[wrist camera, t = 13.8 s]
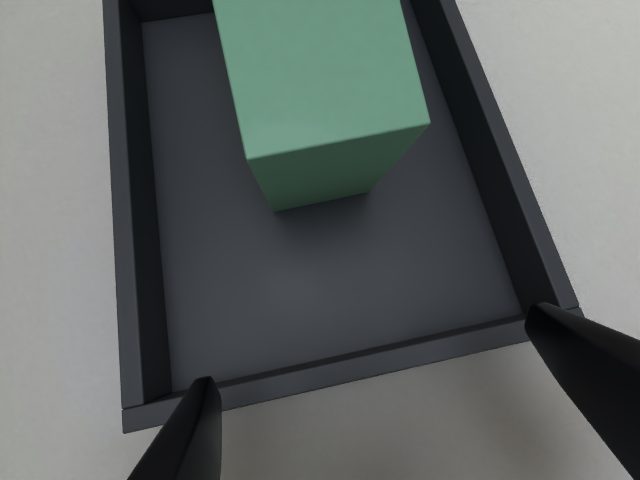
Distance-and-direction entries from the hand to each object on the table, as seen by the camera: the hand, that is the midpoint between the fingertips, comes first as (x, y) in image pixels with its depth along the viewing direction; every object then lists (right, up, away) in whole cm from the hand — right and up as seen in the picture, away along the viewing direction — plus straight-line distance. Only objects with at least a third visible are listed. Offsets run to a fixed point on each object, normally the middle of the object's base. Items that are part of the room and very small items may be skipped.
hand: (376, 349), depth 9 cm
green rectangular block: (-1, +5, +3) cm, 6 cm away
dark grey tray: (-2, +8, +9) cm, 12 cm away
